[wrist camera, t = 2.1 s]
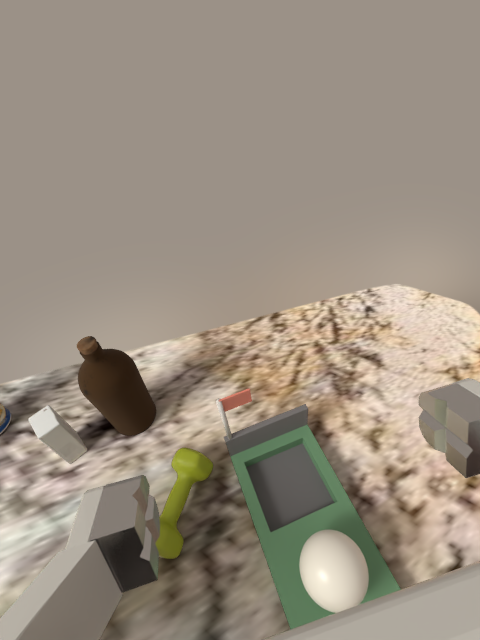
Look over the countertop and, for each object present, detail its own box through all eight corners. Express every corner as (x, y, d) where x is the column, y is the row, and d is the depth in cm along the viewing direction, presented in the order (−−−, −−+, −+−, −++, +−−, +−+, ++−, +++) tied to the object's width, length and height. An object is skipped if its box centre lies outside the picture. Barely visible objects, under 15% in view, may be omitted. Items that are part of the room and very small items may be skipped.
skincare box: (58, 446, 71) (26, 418, 63) (77, 432, 73) (48, 403, 65) (69, 465, 68) (37, 439, 59) (88, 450, 70) (60, 422, 61)
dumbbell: (183, 456, 66) (173, 440, 61) (219, 468, 64) (212, 452, 59) (139, 549, 56) (124, 538, 51) (181, 567, 53) (169, 558, 48)
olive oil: (156, 436, 70) (109, 363, 53) (107, 441, 71) (44, 371, 53) (161, 393, 78) (122, 317, 60) (117, 398, 78) (65, 324, 61)
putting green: (411, 619, 46) (464, 603, 31) (307, 677, 43) (312, 689, 29) (304, 427, 67) (306, 364, 53) (231, 458, 65) (211, 400, 50)
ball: (344, 634, 43) (352, 631, 37) (287, 580, 48) (285, 568, 42) (374, 568, 48) (386, 555, 42) (319, 524, 53) (322, 506, 46)
